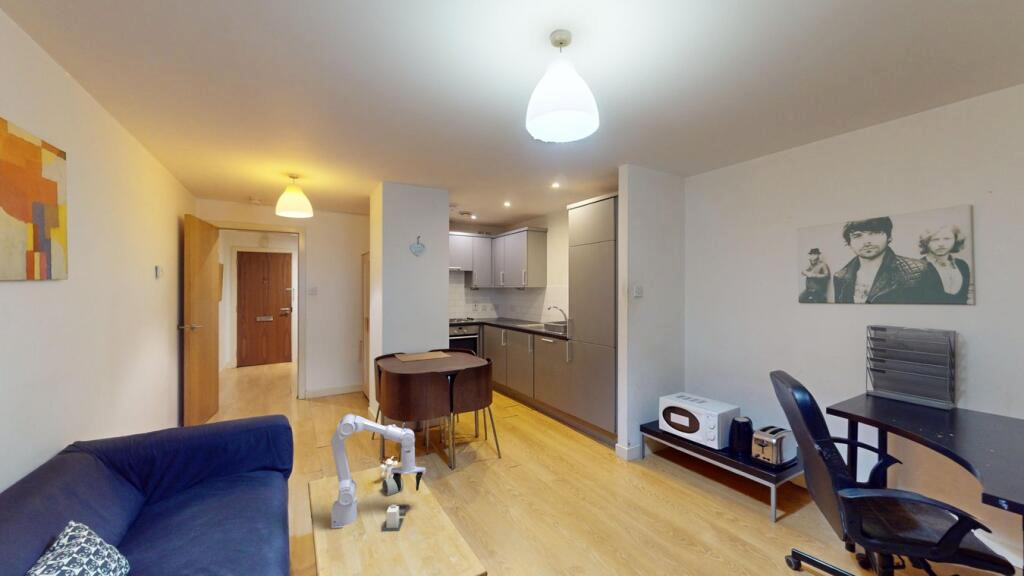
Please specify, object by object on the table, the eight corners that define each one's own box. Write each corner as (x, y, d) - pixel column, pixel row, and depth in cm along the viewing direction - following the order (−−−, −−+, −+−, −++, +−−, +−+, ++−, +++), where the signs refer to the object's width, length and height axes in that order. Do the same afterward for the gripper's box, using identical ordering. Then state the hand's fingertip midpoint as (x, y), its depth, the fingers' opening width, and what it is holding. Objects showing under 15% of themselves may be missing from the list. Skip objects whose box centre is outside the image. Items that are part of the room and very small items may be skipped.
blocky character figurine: (397, 477, 203) (396, 453, 202) (399, 480, 199) (399, 456, 199) (379, 482, 197) (378, 458, 197) (381, 485, 194) (381, 461, 194)
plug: (386, 528, 159) (386, 510, 159) (389, 522, 163) (389, 504, 163) (396, 528, 159) (396, 509, 159) (399, 521, 163) (398, 504, 163)
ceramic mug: (404, 493, 187) (404, 477, 187) (387, 499, 182) (387, 483, 182) (395, 484, 195) (395, 469, 195) (379, 490, 190) (379, 474, 190)
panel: (378, 535, 157) (378, 530, 157) (391, 508, 175) (391, 504, 174) (401, 534, 157) (401, 529, 157) (411, 508, 175) (411, 503, 175)
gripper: (388, 463, 167) (389, 495, 167) (423, 462, 167) (423, 494, 168) (393, 455, 174) (393, 486, 174) (426, 455, 174) (426, 485, 175)
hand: (408, 489), depth 172 cm, fingers open, 7 cm apart
